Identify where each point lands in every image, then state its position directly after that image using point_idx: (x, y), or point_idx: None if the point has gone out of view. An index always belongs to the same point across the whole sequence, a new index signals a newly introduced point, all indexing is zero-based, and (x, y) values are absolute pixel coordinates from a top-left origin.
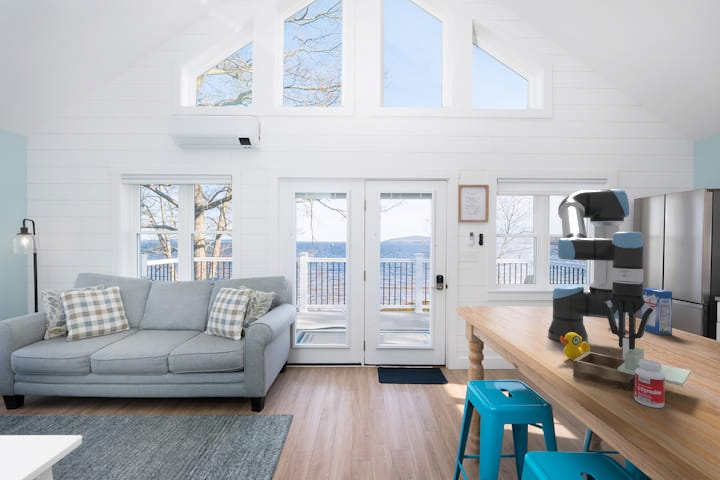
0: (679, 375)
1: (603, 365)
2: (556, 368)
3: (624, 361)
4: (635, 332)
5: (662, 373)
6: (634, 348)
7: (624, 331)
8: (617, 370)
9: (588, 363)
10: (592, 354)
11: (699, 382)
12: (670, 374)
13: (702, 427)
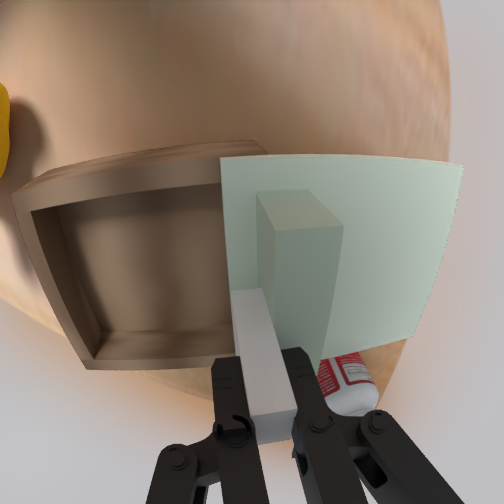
0: (424, 272)
1: (109, 197)
2: (36, 302)
3: (197, 183)
4: (347, 451)
5: (375, 405)
6: (302, 349)
7: (257, 467)
8: None
9: (131, 365)
10: (40, 207)
11: (419, 24)
12: (401, 288)
13: (390, 356)
